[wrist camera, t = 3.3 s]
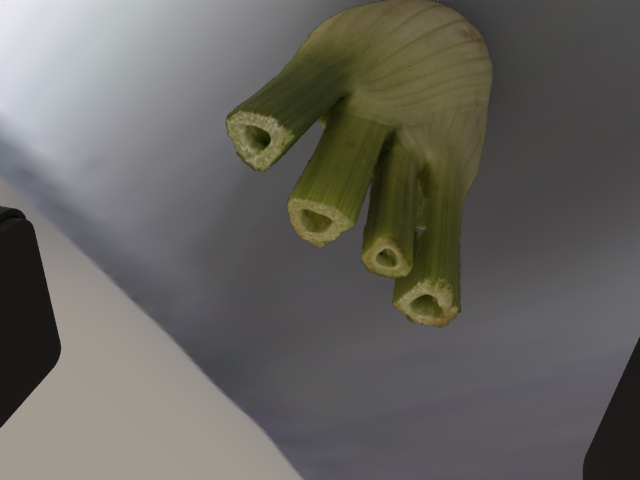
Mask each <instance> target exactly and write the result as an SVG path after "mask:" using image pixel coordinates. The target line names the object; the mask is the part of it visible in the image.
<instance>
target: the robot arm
mask: <svg viewBox="0 0 640 480" xmlns="http://www.w3.org/2000/svg"><path fill="white" fill-rule="evenodd" d="M60 352H61V344H60V339H59V335H58V330H57V326H56V322H55V318H54V313H53V308H52V304H51V300H50V295H49V291H48V287H47V282H46V278H45V274H44V269H43V265H42V261H41V256H40V252H39V248H38V244H37V239H36V234H35V230H34V227H33V225H32V223H31V222H30V221H28V220H26V217H25V215H24V214H23V213H22V212H21V211H20V210H18V209H14V208H8V207H2V206H0V428H1V427H2V426H3V424H4V423H5V422H6V421H7V420H8V419H9V418H10V417H11V415H12V414H13V413H14V412H15V411H16V410H17V408H18V407H19V406H20V405H21V404H22V403H23V402H24V400H25V399H26V398H27V397H28V396H29V395H30V394H31V393H32V392H33V390H34V389H35V388H36V387H37V386H38V385H39V384H40V383H41V381H42V380H43V379H44V378H45V377H46V376H47V375H48V373H49V372H50V371H51V370H52V369H53V368H54V366H55V365H56V363H57V361H58V359H59V356H60ZM583 480H640V337H639V340H638V342H637V344H636V346H635V348H634V351H633V353H632V355H631V357H630V359H629V361H628V364H627V366H626V368H625V370H624V372H623V375H622V377H621V379H620V381H619V383H618V386H617V388H616V390H615V392H614V394H613V397H612V399H611V401H610V403H609V405H608V408H607V410H606V412H605V414H604V416H603V419H602V421H601V423H600V425H599V427H598V430H597V432H596V434H595V436H594V438H593V441H592V443H591V445H590V447H589V449H588V452H587V454H586V456H585V459H584V464H583Z"/></svg>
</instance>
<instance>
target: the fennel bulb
mask: <svg viewBox="0 0 640 480" xmlns="http://www.w3.org/2000/svg"><path fill="white" fill-rule="evenodd" d="M492 82H493V67H492V61H491V58H490V54H489V51H488V49H487V46H486V44H485V41H484V39H483V37H482V35H481V34H480V32H479V31H478V30H477V28H475V27H474V26H473V25H472V24H471V23H470V22H469V21H468V20H467V19H466V18H465V17H464V16H463V15H462V14H461V13H459V12H457V11H456V10H454V9H452V8H450V7H448V6H446V5H444V4H441V3H439V2H437V1H432V0H385V1H380V2H374V3H370V4H365V5H359V6H355V7H351V8H348V9H346V10H344V11H341V12H340V13H338V14H336V15H334V16H332V17H330V18H329V19H327V20H326V21H324V22H322V23H321V24H320V25H319V26H317V27H316V28H315V29H314V30H313V32H312V33H311V34H309V35H308V38H307V40H306V41H305V42H304V43H303V44H302V45H301V46H300V48H299V50H298V52H297V53H296V55H295V56H294V57H293V59H292V60H291V61H290V62H289V63H288V64H287V65H286V66H285V67H284V69H283V70H282V71H281V72H280V73H279V74H278V75H277V76H276V77H274V78H273V79H272V80H271V81H270V82H269V83H268V84H266V85H265V86H264V87H263V88H262V89H261V90H259V91H258V92H257V93H255V94H254V95H253V96H251V97H250V98H249V99H248V100H246V101H245V102H243V103H242V104H240V105H239V106H237V107H236V108H235V109H234V110H233V111H232V112H230V113H229V114H228V116H227V118H226V126H227V132H228V135H229V137H231V138H232V140H233V142H234V146H235V148H236V150H237V152H236V153H237V155H238V156H239V157H240V158H241V159H242V161H243V162H244V163H246V164H247V165H248V166H250V167H251V168H252V169H253V170H257V171H261V172H265V170H267V169H268V168H270V167H271V166H272V165H273V164H275V163H276V162H277V161H278V160H279V159H280V158H281V157H282V156H283V155H284V154H286V152H287V151H288V150H289V149H290V148H291V147H292V146H293V145H294V143H296V142H297V141H298V139H299V138H300V137H301V136H302V135H303V134H304V133H305V132H306V131H307V130H308V129H309V128H310V127H311V126H312V125H313V124H314V122H315V121H316V120H318V121H319V122H320V123H321V125H322V126H323V128H324V131H323V135H322V137H321V139H320V142H319V143H318V146H317V148H316V150H315V152H314V154H313V156H312V157H311V159H310V160H309V161H308V164H307V165H306V168H305V170H304V171H303V173H302V175H301V177H300V178H299V180H298V182H297V183H296V186H295V187H294V189H293V192H292V194H291V196H290V197H289V199H288V202H287V210H288V214H289V217H290V222H291V224H292V226H293V228H294V230H295V232H296V233H297V234H298V235H299V237H300V238H301V239H303V240H306V241H308V242H310V243H311V244H313V245H314V246H315V247H318V248H324V247H325V245H326V244H327V243H328V242H330V241H334V240H335V239H336V238H337V237H339V236H340V234H341V233H342V232H345V231H347V230H349V229H351V228H353V227H354V224H355V222H356V220H357V218H358V215H359V213H360V210H361V207H362V203H363V202H364V199H365V196H366V193H367V189H368V187H369V186H370V184H371V181H372V184H371V190H370V203H369V210H368V217H367V223H366V226H365V228H364V232H363V233H364V234H363V245H362V253H361V254H362V259H361V263H362V264H363V265H364V266H365V267H366V269H367V270H368V271H370V272H372V273H375V274H377V275H378V276H382V277H388V278H395V286H394V292H393V301H392V304H393V306H394V307H395V308H396V309H397V310H399V311H400V312H402V313H404V314H405V315H406V317H407V319H408V320H409V321H411V322H412V323H418V324H424V325H430V326H435V327H443V326H445V325H447V324H449V322H450V321H451V320H453V319H454V318H455V317H456V316H457V314H458V313H460V312H461V304H460V299H461V297H460V289H461V288H460V236H461V222H462V208H463V204H464V200H465V197H466V195H467V192H468V190H469V188H470V186H471V185H472V183H473V181H474V179H475V177H476V175H477V172H478V169H479V165H480V161H481V156H482V151H483V145H484V140H485V135H486V129H487V114H488V104H489V99H490V93H491V87H492ZM372 173H373V179H372Z"/></svg>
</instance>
